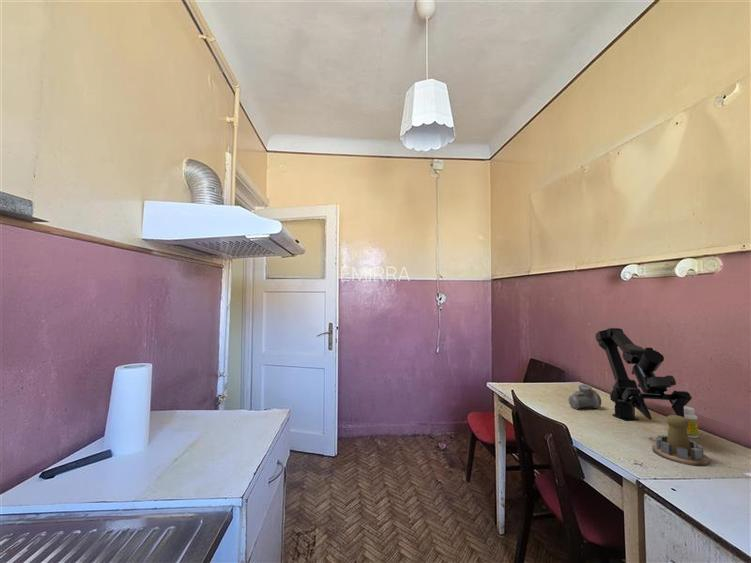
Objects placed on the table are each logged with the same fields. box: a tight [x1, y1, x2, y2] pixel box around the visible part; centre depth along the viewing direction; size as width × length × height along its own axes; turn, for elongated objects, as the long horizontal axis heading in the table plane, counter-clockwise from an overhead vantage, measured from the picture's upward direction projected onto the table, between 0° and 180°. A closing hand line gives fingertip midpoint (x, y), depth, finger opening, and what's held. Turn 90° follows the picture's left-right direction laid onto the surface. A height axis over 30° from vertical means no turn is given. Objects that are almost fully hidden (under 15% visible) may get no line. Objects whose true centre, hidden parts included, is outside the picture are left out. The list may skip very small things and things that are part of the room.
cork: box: [665, 414, 691, 456], centre depth 104 cm, size 6×6×11 cm
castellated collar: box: [655, 434, 705, 461], centre depth 103 cm, size 11×11×3 cm
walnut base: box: [651, 443, 710, 467], centre depth 103 cm, size 13×13×1 cm
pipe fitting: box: [567, 384, 602, 410], centre depth 149 cm, size 12×8×10 cm
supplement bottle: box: [684, 405, 699, 439], centre depth 119 cm, size 5×5×10 cm
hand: (666, 420), depth 109 cm, fingers open, 9 cm apart
